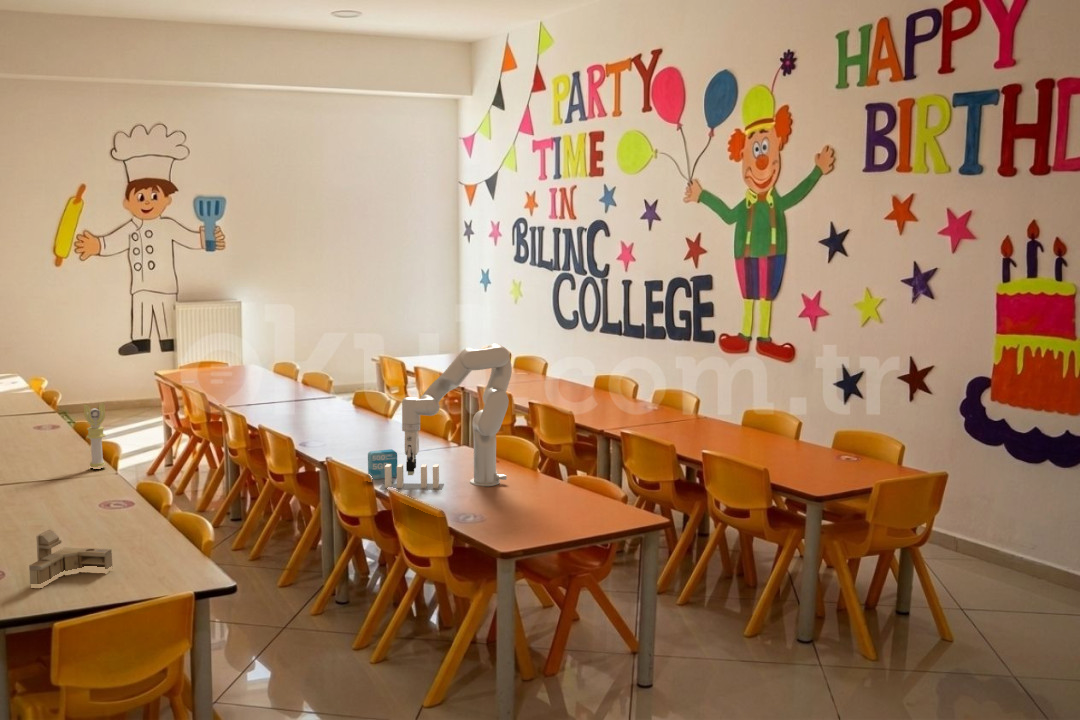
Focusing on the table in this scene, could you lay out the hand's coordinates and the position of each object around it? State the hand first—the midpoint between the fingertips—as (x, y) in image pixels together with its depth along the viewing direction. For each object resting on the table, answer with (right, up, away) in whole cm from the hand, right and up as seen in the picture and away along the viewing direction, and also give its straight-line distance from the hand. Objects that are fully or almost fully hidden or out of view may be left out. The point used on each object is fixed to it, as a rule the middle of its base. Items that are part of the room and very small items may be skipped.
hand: (411, 469), depth 423 cm
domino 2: (-5, -7, +1) cm, 9 cm away
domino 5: (+10, -7, +1) cm, 13 cm away
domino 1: (-10, -7, +1) cm, 12 cm away
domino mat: (0, -8, +1) cm, 8 cm away
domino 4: (+5, -7, +1) cm, 9 cm away
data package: (-15, -6, +17) cm, 23 cm away
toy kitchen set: (-91, -23, -110) cm, 144 cm away
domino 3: (0, -2, 0) cm, 2 cm away
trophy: (-145, -4, +32) cm, 148 cm away
